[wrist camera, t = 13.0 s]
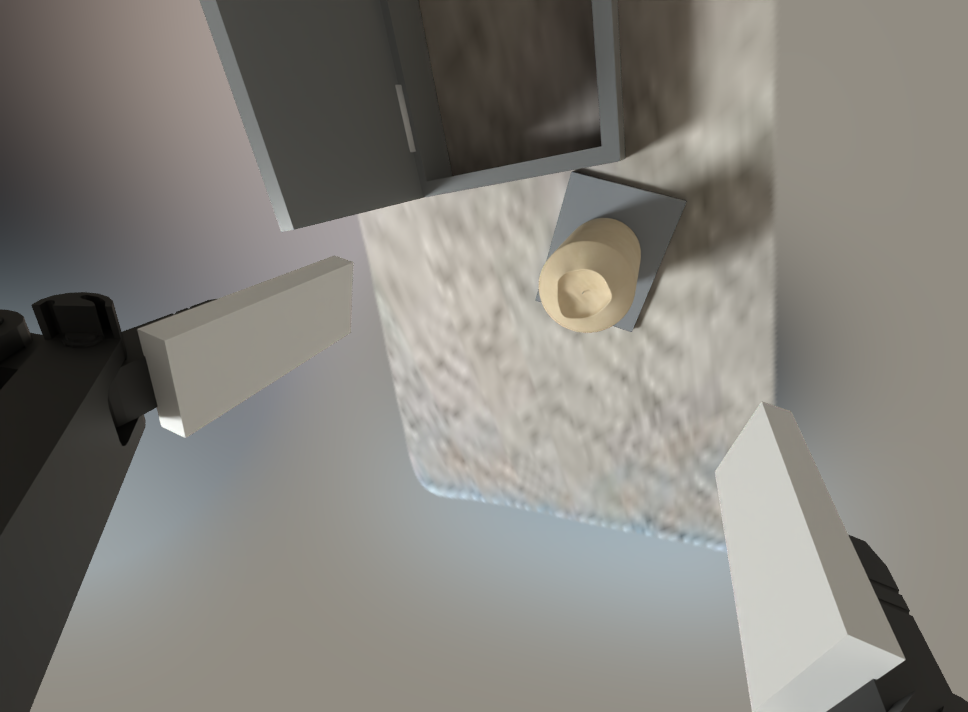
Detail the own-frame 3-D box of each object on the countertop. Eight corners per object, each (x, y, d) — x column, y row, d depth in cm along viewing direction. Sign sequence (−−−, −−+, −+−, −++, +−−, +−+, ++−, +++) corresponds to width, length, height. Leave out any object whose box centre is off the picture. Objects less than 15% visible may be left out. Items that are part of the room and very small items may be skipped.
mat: (572, 171, 31) (571, 171, 30) (686, 200, 29) (686, 201, 29) (537, 298, 36) (535, 300, 36) (632, 329, 34) (631, 332, 34)
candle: (601, 305, 34) (581, 360, 25) (550, 256, 34) (513, 295, 25) (658, 254, 31) (657, 297, 22) (602, 199, 31) (581, 223, 22)
